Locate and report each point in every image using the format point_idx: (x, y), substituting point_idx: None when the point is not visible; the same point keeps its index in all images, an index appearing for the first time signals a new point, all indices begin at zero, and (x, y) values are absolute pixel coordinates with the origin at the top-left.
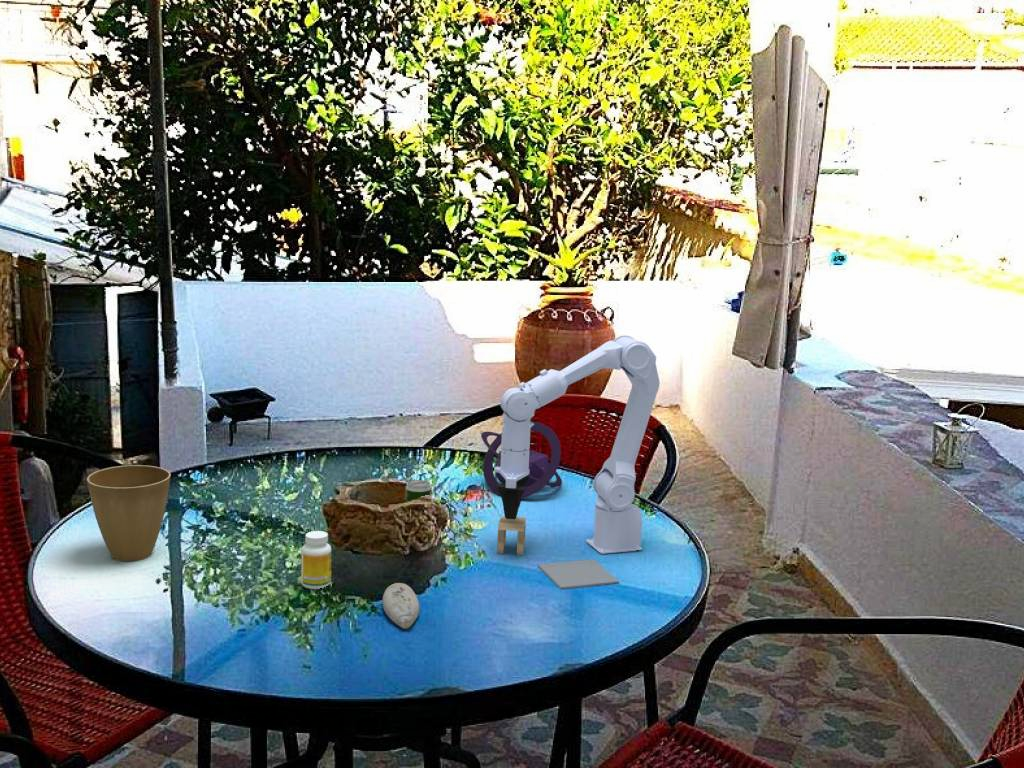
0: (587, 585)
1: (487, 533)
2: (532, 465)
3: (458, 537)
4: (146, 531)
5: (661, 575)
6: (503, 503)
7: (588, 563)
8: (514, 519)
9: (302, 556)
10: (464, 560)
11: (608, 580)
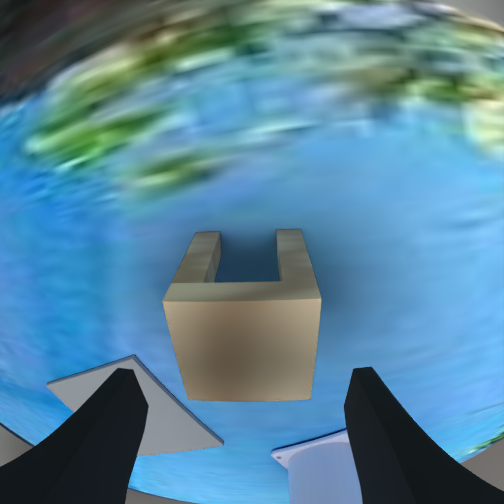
0: None
1: (425, 165)
2: None
3: (354, 45)
4: None
5: (196, 487)
6: (53, 432)
7: (192, 438)
8: (272, 365)
9: None
10: (88, 129)
11: None
